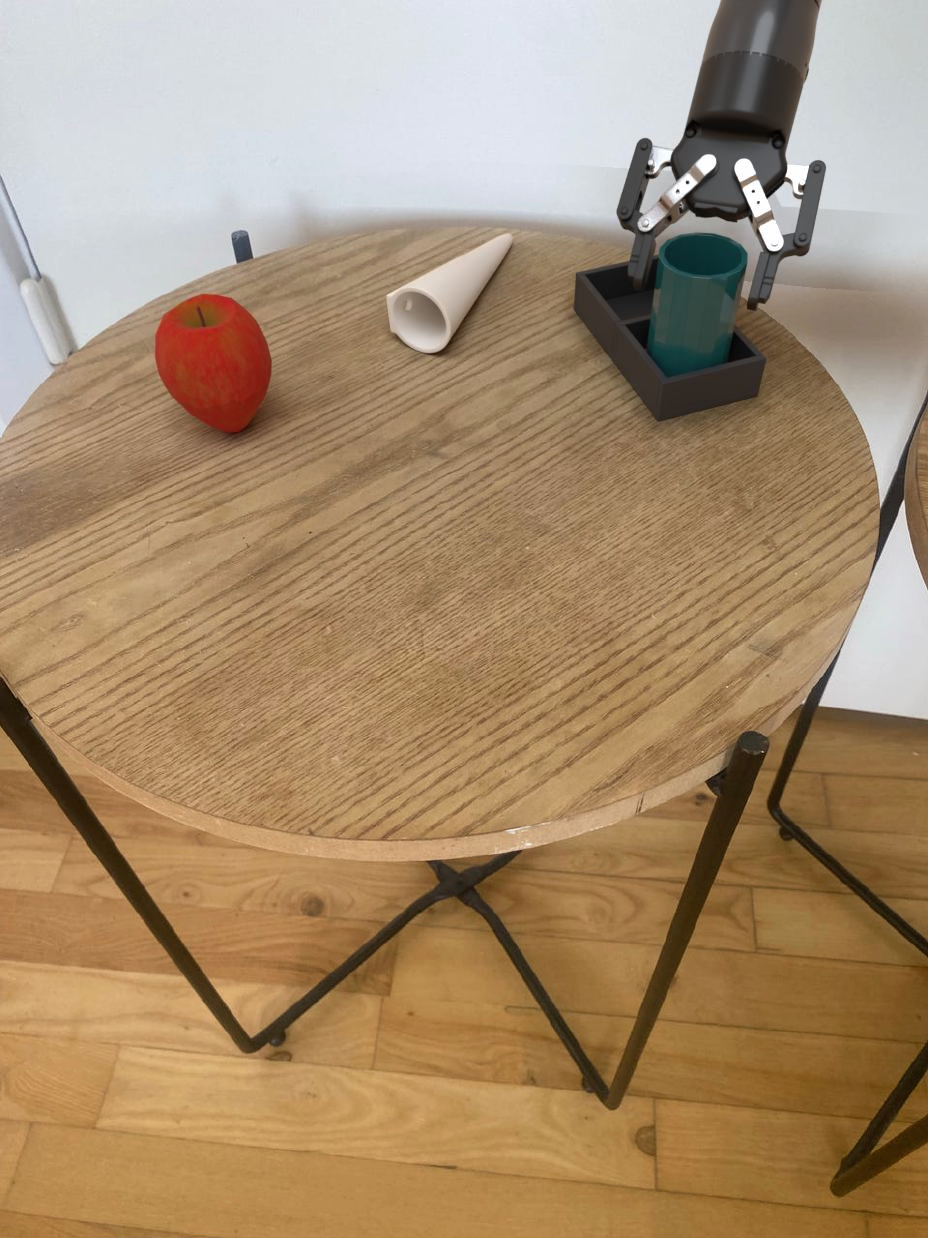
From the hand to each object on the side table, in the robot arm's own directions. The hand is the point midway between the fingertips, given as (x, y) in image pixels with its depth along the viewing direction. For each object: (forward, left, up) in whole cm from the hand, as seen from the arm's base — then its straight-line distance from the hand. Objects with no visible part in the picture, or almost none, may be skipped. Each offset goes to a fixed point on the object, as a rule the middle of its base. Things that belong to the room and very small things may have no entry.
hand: (694, 297), depth 71 cm
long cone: (+19, -11, -8) cm, 23 cm away
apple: (+35, +10, -8) cm, 37 cm away
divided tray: (+2, -5, -8) cm, 10 cm away
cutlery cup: (0, -2, -7) cm, 8 cm away
